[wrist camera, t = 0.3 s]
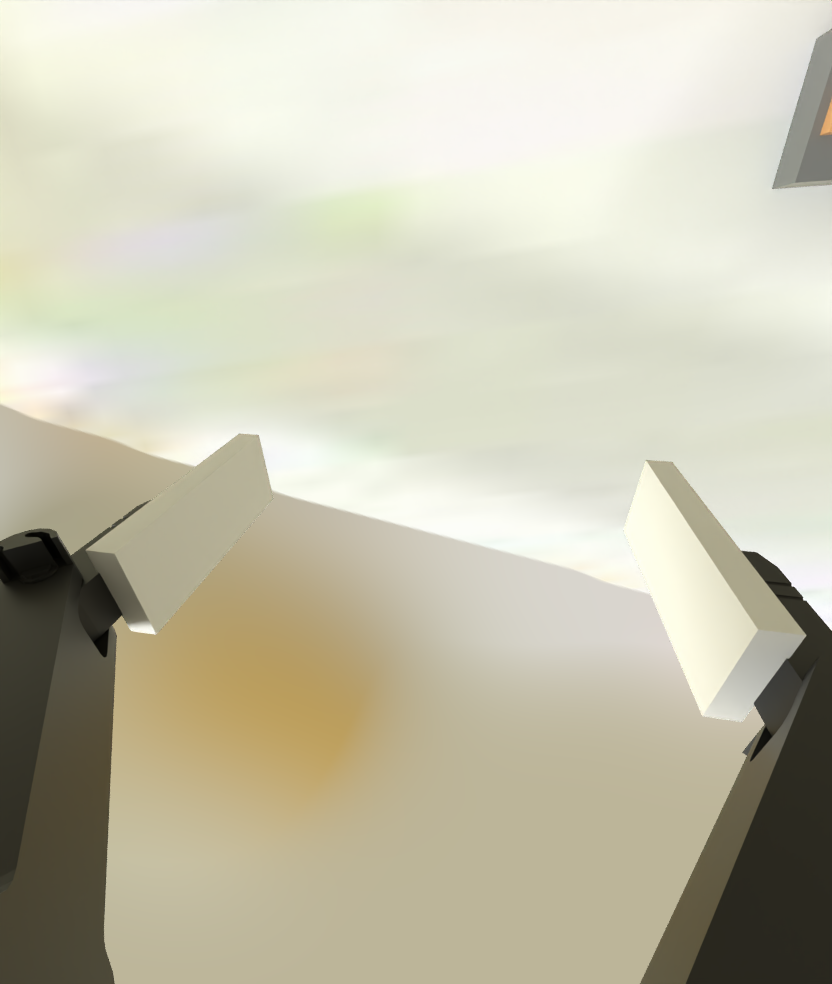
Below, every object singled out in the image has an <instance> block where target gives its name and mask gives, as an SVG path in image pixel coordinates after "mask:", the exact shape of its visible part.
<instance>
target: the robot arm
mask: <svg viewBox="0 0 832 984" xmlns="http://www.w3.org/2000/svg"><path fill="white" fill-rule="evenodd" d="M272 500H273V495H272V491H271V486H270V482H269V478H268V473H267V469H266V465H265V460H264V456H263V452H262V447H261V443H260V439H259V435H250V434H238V435H237V436H236V437H234V438H233V439H232V440H230V441H229V442H228V443H226V444H225V445H224V446H222V447H221V448H220V449H218V450H217V451H216V452H215V453H213V454H212V455H211V456H209V457H208V458H207V459H205V460H204V461H203V462H201V463H200V464H199V465H197V466H196V467H195V468H193V469H192V470H191V471H189V472H188V473H187V474H186V475H184V476H183V477H181V478H180V479H179V480H178V481H176V482H175V483H174V484H172V485H171V486H170V487H168V488H167V489H166V490H164V491H163V492H162V493H160V494H159V495H158V496H156V497H155V498H154V499H152V500H150V501H147V502H145V503H144V504H141V505H139V506H137V507H136V508H134V509H133V510H132V511H131V512H129V513H128V514H127V515H125V516H124V517H123V519H120V520H118V521H117V522H116V523H114V524H113V525H112V527H111V528H110V527H109V528H107V529H106V530H105V531H103V532H102V533H101V534H99V535H98V536H97V537H95V538H94V539H93V540H91V541H90V542H89V543H87V544H86V545H85V546H83V547H82V548H81V549H79V550H78V551H76V552H75V553H74V554H72V555H71V556H70V554H69V552H68V550H67V549H66V547H65V545H64V544H63V542H62V540H61V539H60V537H59V535H58V534H57V532H56V531H53V530H51V529H35V530H29V531H25V532H22V533H19V534H15V535H13V536H10V537H8V538H6V539H4V540H2V541H0V984H114V977H113V971H112V968H111V965H110V962H109V959H108V957H107V953H106V950H105V943H104V912H105V889H106V867H107V866H106V865H107V844H108V820H109V798H110V774H111V752H112V729H113V707H114V682H115V661H116V638H117V635H116V632H115V630H114V628H113V626H112V625H113V624H114V623H115V622H116V620H118V618H119V617H120V616H123V618H124V619H125V621H126V623H127V625H128V627H129V628H130V630H131V631H135V632H142V633H149V634H158V632H159V631H160V630H161V629H162V628H163V627H164V625H165V624H166V623H167V622H168V621H169V620H170V618H171V617H172V616H173V615H174V614H175V613H176V612H177V610H178V609H179V608H180V607H181V606H182V604H183V603H184V602H185V601H186V600H187V599H188V597H189V596H190V595H191V594H192V593H193V592H194V591H195V589H196V588H197V587H198V586H199V585H200V584H201V582H202V581H203V580H204V579H205V578H206V577H207V575H208V574H209V573H210V572H211V571H212V570H213V568H214V567H215V566H216V565H217V564H218V563H219V561H220V560H221V559H222V558H223V557H224V556H225V555H226V553H227V552H228V551H229V550H230V549H231V548H232V547H233V545H234V544H235V543H236V542H237V541H238V540H239V538H240V537H241V536H242V535H243V534H244V533H245V531H246V530H247V529H248V528H249V527H250V526H251V524H252V523H253V522H254V521H255V520H256V519H257V517H258V516H259V515H260V514H261V513H262V512H263V511H264V509H265V508H266V507H267V506H268V504H269V503H270V502H271V501H272ZM623 531H624V533H625V535H626V538H627V540H628V543H629V545H630V547H631V550H632V552H633V554H634V557H635V559H636V561H637V564H638V566H639V568H640V571H641V573H642V575H643V578H644V580H645V582H646V585H647V587H648V589H649V592H650V594H651V597H652V599H653V601H654V604H655V606H656V608H657V611H658V613H659V615H660V618H661V620H662V622H663V625H664V627H665V629H666V632H667V634H668V636H669V639H670V641H671V643H672V646H673V648H674V650H675V653H676V655H677V657H678V660H679V662H680V664H681V667H682V669H683V671H684V674H685V676H686V678H687V681H688V683H689V686H690V688H691V690H692V692H693V695H694V697H695V700H696V702H697V705H698V707H699V709H700V712H701V714H702V716H704V717H711V718H718V719H725V720H731V721H738V722H742V721H743V720H744V719H745V717H746V716H747V715H748V713H749V712H750V711H751V709H752V708H753V707H754V705H755V707H756V709H757V710H758V712H759V714H760V716H761V718H762V719H763V721H764V723H765V725H764V726H763V727H762V728H761V730H760V731H759V732H758V733H757V735H756V736H755V737H754V738H753V740H752V741H751V742H750V743H749V745H748V746H747V747H746V748H745V750H744V751H743V753H744V754H746V755H747V757H746V760H745V762H744V764H743V766H742V768H741V770H740V772H739V774H738V777H737V778H736V781H735V783H734V785H733V787H732V790H731V791H730V794H729V796H728V798H727V800H726V802H725V804H724V806H723V808H722V810H721V813H720V815H719V817H718V819H717V821H716V823H715V825H714V828H713V830H712V832H711V834H710V836H709V838H708V840H707V842H706V845H705V847H704V849H703V851H702V853H701V855H700V857H699V859H698V862H697V864H696V866H695V868H694V870H693V872H692V874H691V876H690V879H689V881H688V883H687V885H686V887H685V889H684V891H683V894H682V896H681V898H680V900H679V902H678V904H677V907H676V909H675V911H674V913H673V915H672V917H671V919H670V921H669V924H668V925H667V928H666V930H665V932H664V934H663V936H662V938H661V940H660V943H659V945H658V947H657V949H656V951H655V953H654V955H653V958H652V960H651V962H650V964H649V966H648V968H647V970H646V973H645V974H644V977H643V979H642V981H641V983H640V984H832V631H831V630H830V629H829V627H828V626H827V625H826V624H825V623H824V621H823V620H822V619H821V618H820V617H819V616H818V614H817V613H816V612H815V611H814V610H813V608H812V607H811V606H810V605H809V604H808V603H807V601H803V597H802V595H801V594H800V593H799V592H798V591H797V590H796V588H795V587H792V586H791V582H790V581H789V580H788V579H787V578H786V577H785V575H784V574H783V573H782V572H781V571H780V569H779V568H778V567H777V566H775V565H774V564H772V563H771V562H769V561H768V560H767V559H765V558H764V557H762V556H761V555H760V554H758V553H757V552H747V551H741V550H740V549H739V548H738V546H737V545H736V544H735V542H734V541H733V540H732V539H731V537H730V536H729V535H728V533H727V532H726V531H725V530H724V528H723V527H722V526H721V524H720V523H719V522H718V520H717V519H716V518H715V517H714V515H713V514H712V513H711V511H710V510H709V509H708V508H707V506H706V505H705V504H704V502H703V501H702V500H701V499H700V497H699V496H698V495H697V493H696V492H695V491H694V489H693V488H692V487H691V486H690V484H689V483H688V482H687V480H686V479H685V478H684V477H683V475H682V474H681V473H680V471H679V470H678V469H677V467H676V466H675V465H674V464H673V462H666V461H650V460H646V461H645V465H644V468H643V471H642V474H641V477H640V480H639V483H638V486H637V489H636V493H635V496H634V499H633V502H632V505H631V508H630V511H629V514H628V517H627V520H626V524H625V527H624V530H623Z"/></svg>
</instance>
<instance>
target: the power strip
mask: <svg viewBox="0 0 832 984" xmlns="http://www.w3.org/2000/svg"><path fill="white" fill-rule="evenodd" d="M820 185H832V29H831V30H829V31H828V32H826V33H825V34H823V35H822V36H820V37H819V38H817V39H816V42H815V46H814V49H813V52H812V56H811V59H810V63H809V66H808V69H807V73H806V76H805V79H804V83H803V86H802V90H801V93H800V96H799V100H798V103H797V106H796V110H795V113H794V116H793V120H792V123H791V127H790V130H789V133H788V137H787V140H786V143H785V147H784V150H783V153H782V157H781V160H780V164H779V167H778V170H777V174H776V177H775V180H774V184H773V187H772V189H779V188H793V187H807V186H820Z"/></svg>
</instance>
